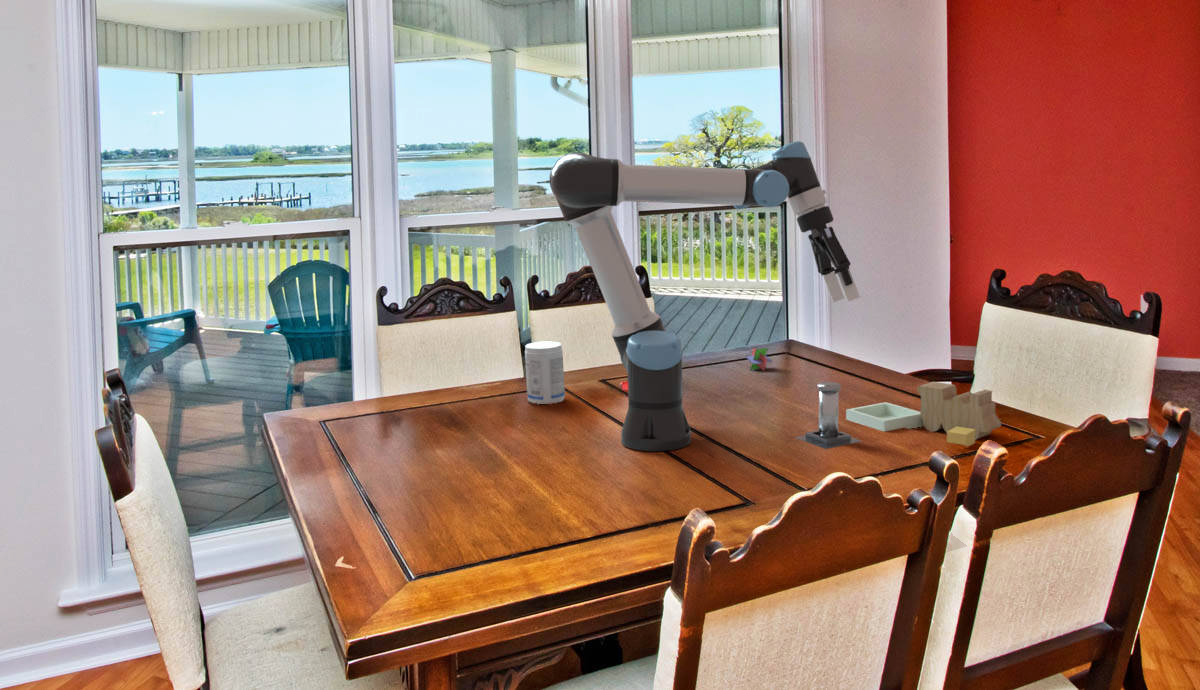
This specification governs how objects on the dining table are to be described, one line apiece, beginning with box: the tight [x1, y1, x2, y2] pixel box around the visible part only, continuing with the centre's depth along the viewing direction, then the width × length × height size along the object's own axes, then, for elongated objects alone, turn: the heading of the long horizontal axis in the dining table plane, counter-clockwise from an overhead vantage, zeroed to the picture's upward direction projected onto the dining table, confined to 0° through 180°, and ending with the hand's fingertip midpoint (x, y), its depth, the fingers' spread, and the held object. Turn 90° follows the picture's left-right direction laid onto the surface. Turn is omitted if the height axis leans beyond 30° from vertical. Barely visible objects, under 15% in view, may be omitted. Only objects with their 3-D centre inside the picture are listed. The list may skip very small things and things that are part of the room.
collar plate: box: [794, 429, 863, 450], centre depth 215 cm, size 10×10×2 cm
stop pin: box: [816, 381, 842, 438], centre depth 214 cm, size 5×5×12 cm
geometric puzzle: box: [744, 346, 774, 372], centre depth 287 cm, size 7×7×8 cm
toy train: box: [916, 381, 1002, 441], centre depth 220 cm, size 6×17×10 cm, turn 40°
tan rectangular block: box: [946, 426, 976, 447], centre depth 212 cm, size 5×4×3 cm
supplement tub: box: [524, 340, 566, 405], centre depth 257 cm, size 10×10×15 cm
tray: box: [845, 401, 924, 432], centre depth 228 cm, size 12×12×3 cm
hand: (845, 300), depth 225 cm, fingers open, 13 cm apart
